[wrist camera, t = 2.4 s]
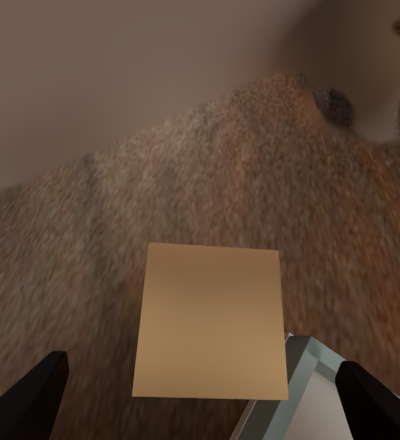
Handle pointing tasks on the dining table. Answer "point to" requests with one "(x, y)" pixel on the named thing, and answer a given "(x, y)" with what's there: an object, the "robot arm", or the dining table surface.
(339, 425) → the slot rack
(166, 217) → the dining table surface
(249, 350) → the amber plug block
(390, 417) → the robot arm
